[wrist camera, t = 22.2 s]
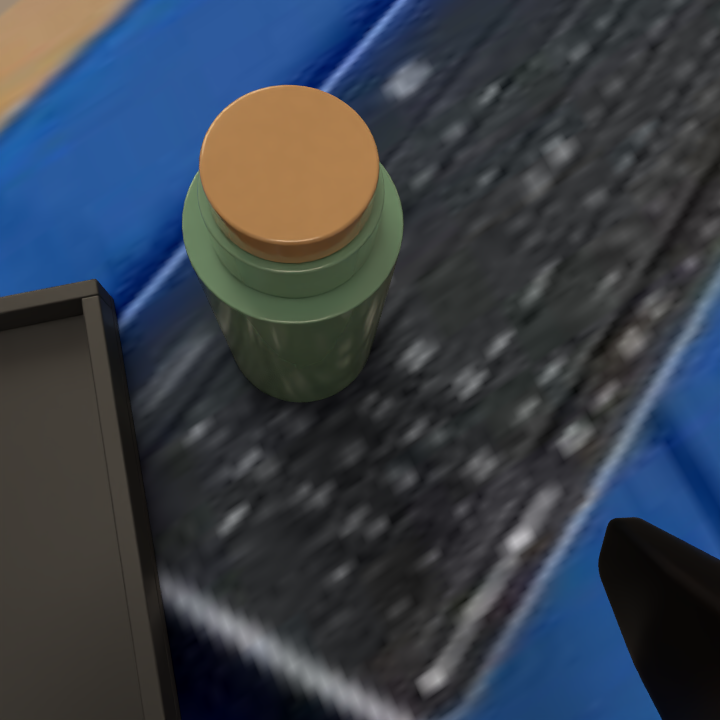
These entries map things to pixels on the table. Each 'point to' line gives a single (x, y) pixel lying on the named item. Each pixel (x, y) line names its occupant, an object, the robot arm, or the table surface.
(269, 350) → the jar
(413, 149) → the table surface
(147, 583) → the baking tray
